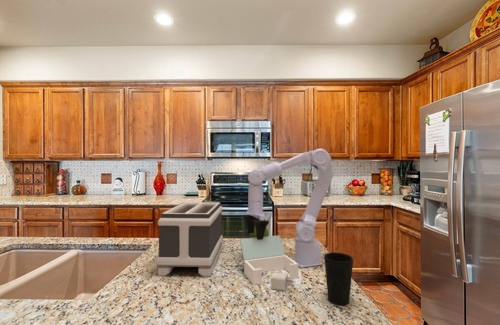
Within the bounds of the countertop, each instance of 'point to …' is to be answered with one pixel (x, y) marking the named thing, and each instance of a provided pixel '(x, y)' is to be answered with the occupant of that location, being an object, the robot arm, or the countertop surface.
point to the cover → (262, 247)
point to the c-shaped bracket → (269, 267)
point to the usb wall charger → (280, 281)
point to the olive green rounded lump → (253, 235)
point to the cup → (338, 277)
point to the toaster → (190, 237)
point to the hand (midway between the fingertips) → (255, 235)
